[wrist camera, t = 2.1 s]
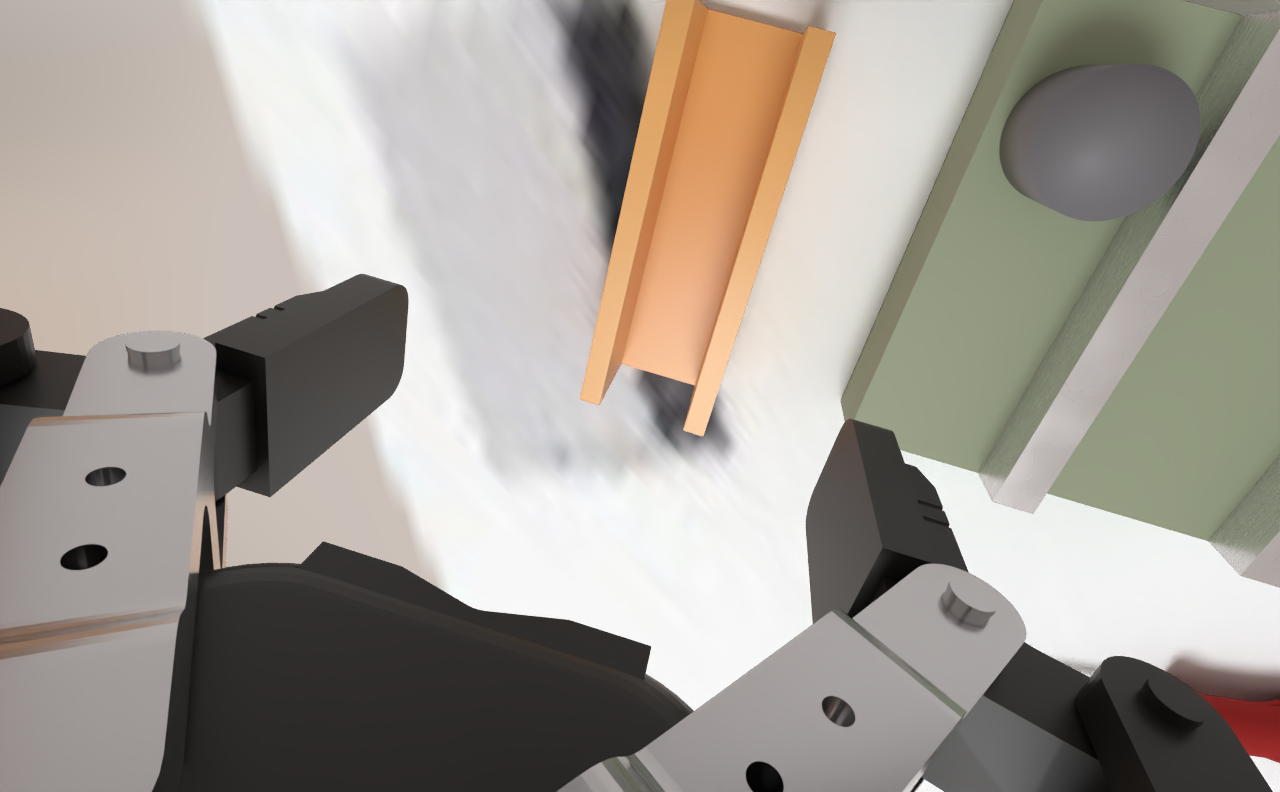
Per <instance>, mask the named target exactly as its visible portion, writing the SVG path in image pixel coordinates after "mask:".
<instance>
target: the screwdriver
mask: <svg viewBox="0 0 1280 792" xmlns="http://www.w3.org/2000/svg"><path fill="white" fill-rule="evenodd" d="M1195 692H1196V691H1195ZM1197 693H1198V692H1197ZM1198 694H1199V695H1200V696H1201V697H1203V698H1204V699H1205V700H1206V701H1207V702H1208V703H1209V704H1210V705H1211V706H1212V707H1214V708H1215V709H1216V710H1217V711H1218V713H1219V714H1220V715H1221V716H1222V717H1223V718H1224V719H1225V721H1226V722H1227V723H1228V724H1229V726H1230V727H1231V729H1232V730H1233V731H1234V733H1235V734H1236V736H1237V738H1238V739H1239V741H1240V742H1241V744H1242V745H1243V747H1244V748H1245V750H1246V751H1247V753H1248V755H1250V756H1257V757H1264V758H1267V759H1270V760H1273V761H1276V762H1278V763H1280V699H1276V700H1266V701H1256V702H1253V701H1246V700H1239V699H1232V698H1225V697H1218V696H1211V695H1204V694H1201V693H1198Z"/></svg>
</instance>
